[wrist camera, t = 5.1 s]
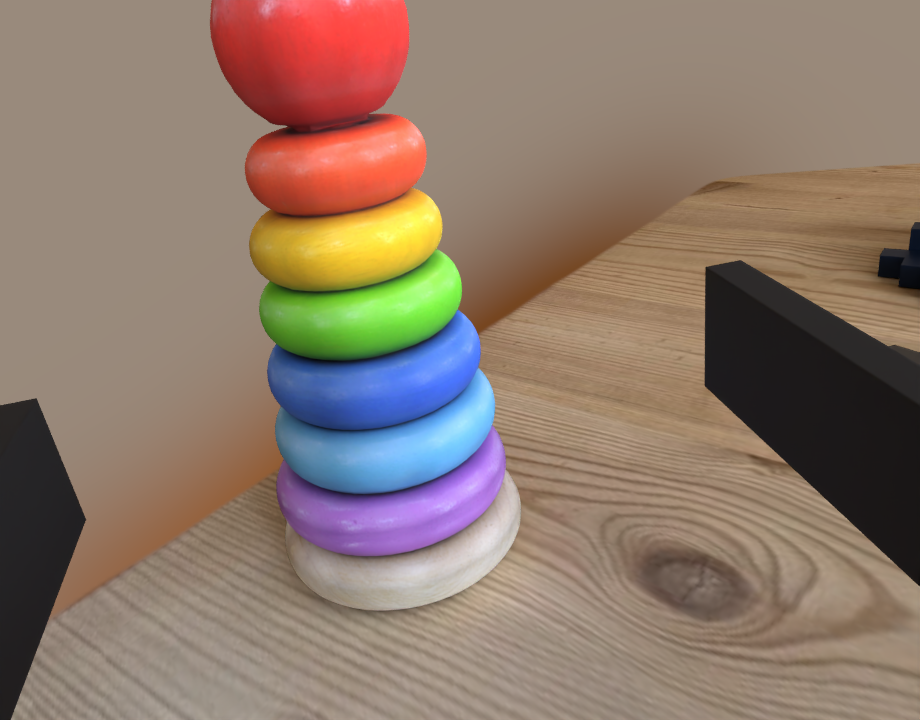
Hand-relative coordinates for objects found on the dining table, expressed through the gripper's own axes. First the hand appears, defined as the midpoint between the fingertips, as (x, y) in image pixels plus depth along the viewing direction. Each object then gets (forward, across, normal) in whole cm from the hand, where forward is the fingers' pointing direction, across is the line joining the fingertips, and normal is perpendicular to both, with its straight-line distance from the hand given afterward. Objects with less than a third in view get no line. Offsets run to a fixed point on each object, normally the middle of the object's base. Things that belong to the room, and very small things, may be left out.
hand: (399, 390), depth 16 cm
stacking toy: (+8, 0, -10) cm, 13 cm away
